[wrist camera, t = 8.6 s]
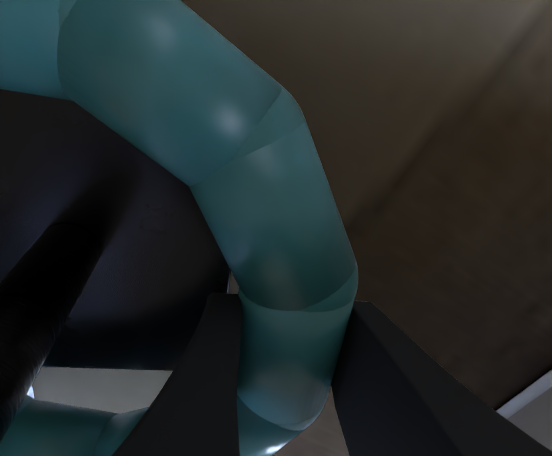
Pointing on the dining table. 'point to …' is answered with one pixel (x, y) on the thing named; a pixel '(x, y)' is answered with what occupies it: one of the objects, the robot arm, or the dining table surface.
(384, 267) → the dining table surface
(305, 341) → the teal segmented ring
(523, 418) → the laptop
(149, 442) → the robot arm
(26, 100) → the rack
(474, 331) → the dining table surface
